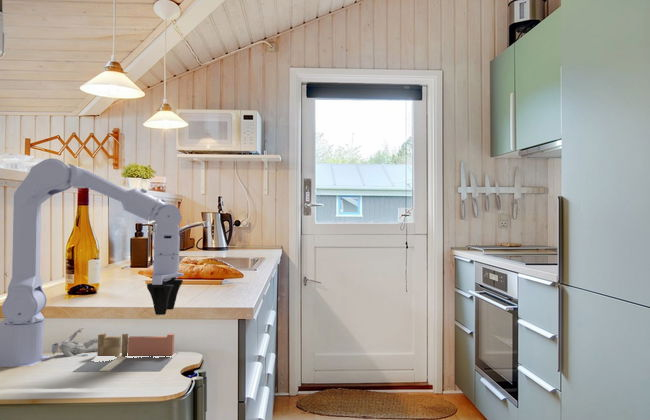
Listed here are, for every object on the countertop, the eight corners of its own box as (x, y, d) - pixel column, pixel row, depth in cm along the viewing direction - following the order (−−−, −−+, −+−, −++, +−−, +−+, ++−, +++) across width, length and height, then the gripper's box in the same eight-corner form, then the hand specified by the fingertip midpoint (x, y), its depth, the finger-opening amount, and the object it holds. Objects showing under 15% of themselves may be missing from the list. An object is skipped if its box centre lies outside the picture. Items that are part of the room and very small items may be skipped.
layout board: (72, 374, 87) (72, 371, 88) (102, 355, 101) (102, 352, 101) (160, 374, 89) (160, 370, 89) (178, 354, 103) (178, 351, 103)
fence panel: (127, 355, 98) (128, 335, 99) (129, 354, 100) (130, 333, 100) (172, 355, 99) (172, 334, 99) (173, 354, 100) (174, 333, 101)
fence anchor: (97, 356, 98) (98, 334, 98) (99, 355, 99) (100, 333, 99) (126, 356, 98) (126, 334, 99) (128, 355, 100) (128, 333, 100)
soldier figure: (114, 357, 103) (65, 352, 94) (100, 370, 104) (50, 365, 95) (108, 330, 108) (61, 322, 99) (95, 342, 109) (47, 335, 99)
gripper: (175, 256, 99) (173, 317, 98) (190, 253, 114) (189, 306, 113) (143, 256, 99) (141, 317, 98) (162, 252, 113) (160, 306, 112)
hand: (164, 311), depth 105 cm, fingers open, 6 cm apart
